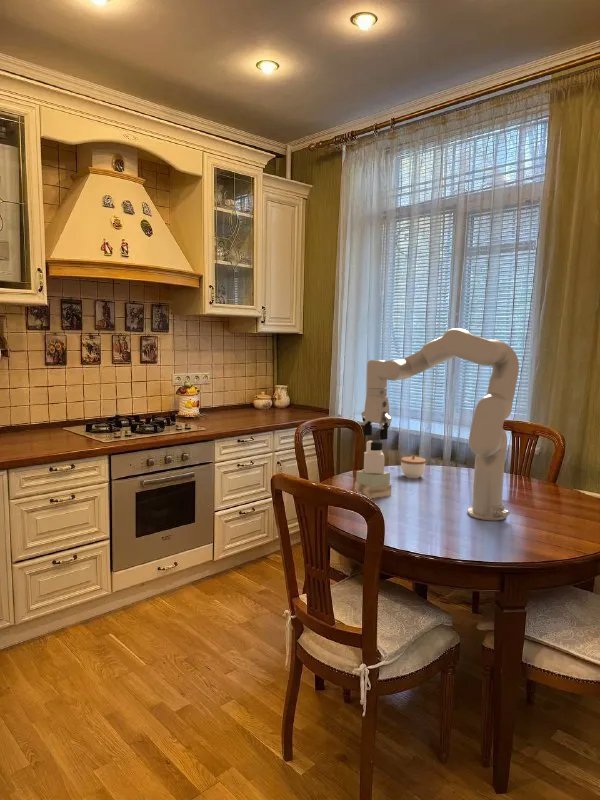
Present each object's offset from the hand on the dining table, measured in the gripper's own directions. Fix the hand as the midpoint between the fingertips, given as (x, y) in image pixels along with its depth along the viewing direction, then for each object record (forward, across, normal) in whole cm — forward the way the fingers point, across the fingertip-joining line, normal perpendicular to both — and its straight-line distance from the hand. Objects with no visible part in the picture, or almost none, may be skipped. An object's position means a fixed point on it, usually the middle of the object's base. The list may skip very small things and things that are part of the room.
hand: (375, 437), depth 212 cm
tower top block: (+18, +1, 0) cm, 18 cm away
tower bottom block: (+23, +1, 0) cm, 23 cm away
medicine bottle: (+14, 0, 0) cm, 14 cm away
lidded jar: (+22, +14, -32) cm, 41 cm away
